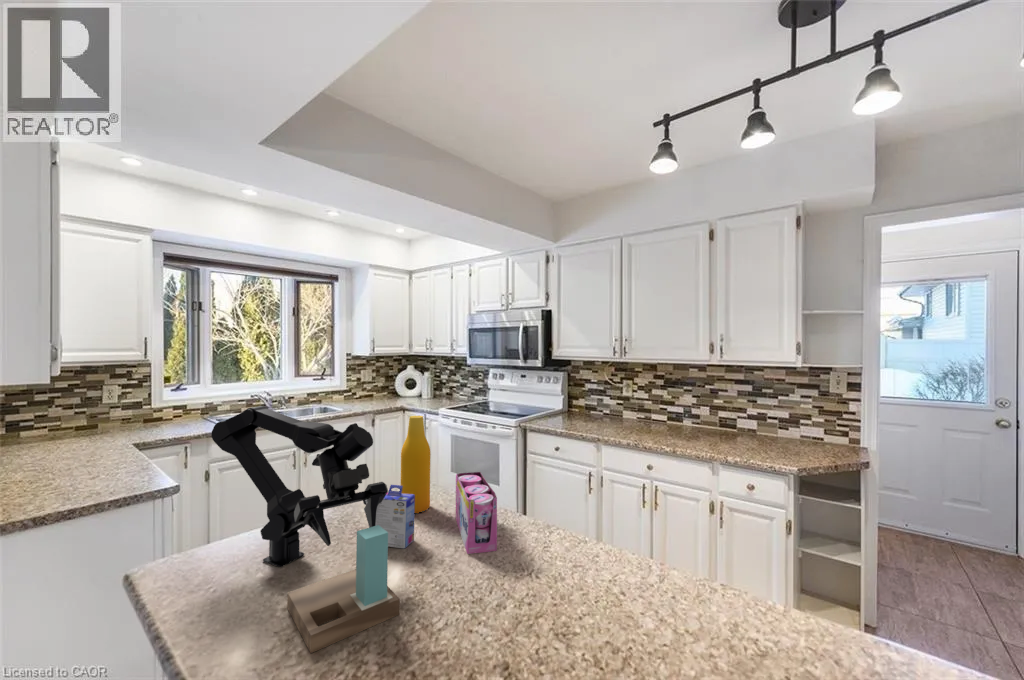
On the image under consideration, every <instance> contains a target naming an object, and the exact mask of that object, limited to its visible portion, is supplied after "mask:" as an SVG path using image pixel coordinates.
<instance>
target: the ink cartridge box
mask: <svg viewBox="0 0 1024 680" xmlns="http://www.w3.org/2000/svg"><path fill="white" fill-rule="evenodd" d="M402 488H403V486H401V484H399V485H398V484H390V486H389V488H388V492H387V494H386V496H385V497H384V499H383V500H382V502H381V503H379V505H378V506H377V511H376V524H375V526H377V525H379V526H381V527H382V528H383V529H384V530H386V531H387V532H388V548H389V547H391V548H397V549H406V548H407V547H408V546H410V544H412V543H413V542H414V541H415V514H414V511H415V494H402ZM392 489H399V490H398V491H397V490H392Z"/></svg>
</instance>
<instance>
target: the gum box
mask: <svg viewBox="0 0 1024 680" xmlns="http://www.w3.org/2000/svg"><path fill="white" fill-rule="evenodd" d="M455 520H456V521H455V522H456V524H457V527H458V531H459V534H460V537H461V539H462V542H463V546H464V548H465V551H466V554H467V555H468V554H469V555H470V554H480V553H488V552H496V551H498V549H497V546H498V497H497V494H496V493H495V491H494V490H493V488H492V487H491V485H490V484H489V483H488V482H487V480H486V479H485V477H484V475H483V474H482V472H481V471H475V472H460V473H459V472H458V473H456V474H455Z"/></svg>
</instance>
